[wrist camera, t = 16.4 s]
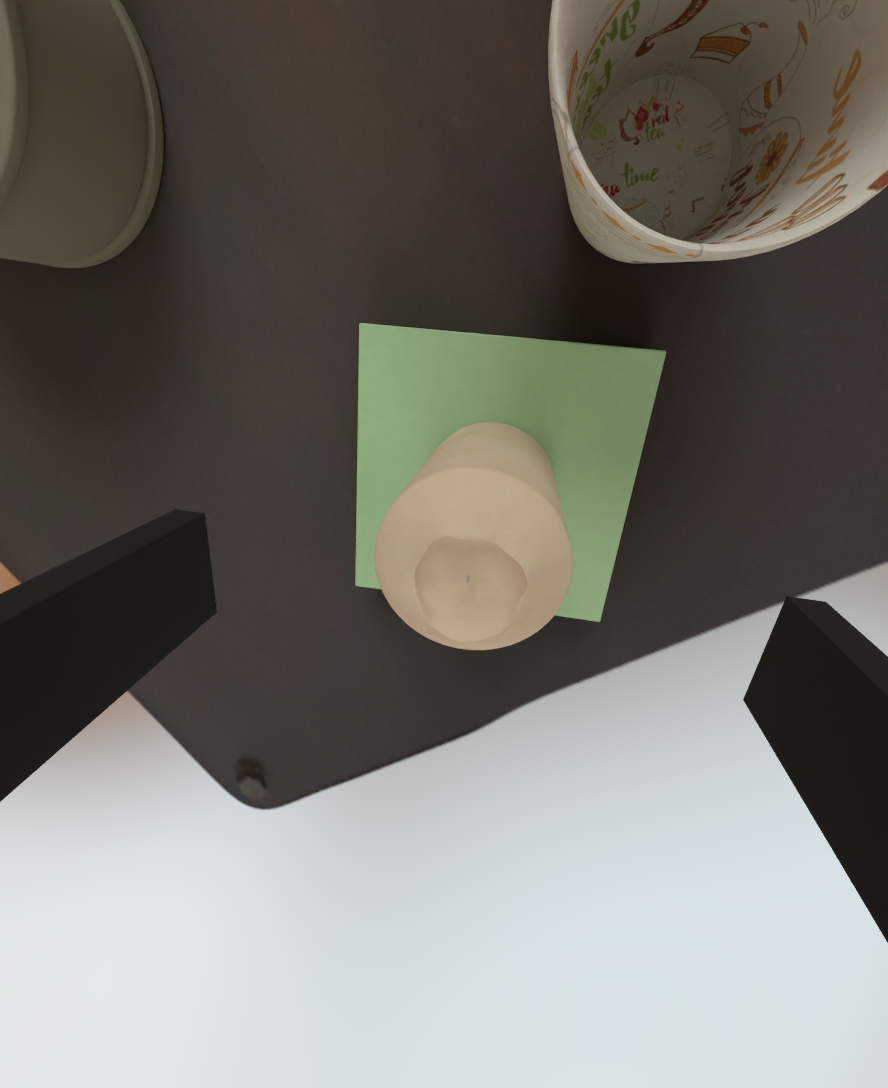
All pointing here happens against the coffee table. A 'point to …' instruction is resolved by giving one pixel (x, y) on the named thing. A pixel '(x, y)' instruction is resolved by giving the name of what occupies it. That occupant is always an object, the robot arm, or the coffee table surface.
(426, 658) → the coffee table surface
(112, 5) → the can
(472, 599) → the candle
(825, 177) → the mug
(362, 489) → the foam pad
